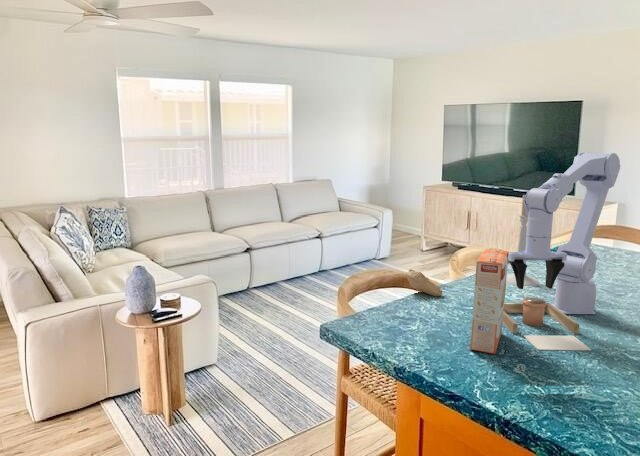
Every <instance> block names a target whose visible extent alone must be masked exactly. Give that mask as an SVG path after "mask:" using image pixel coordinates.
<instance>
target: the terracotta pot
mask: <svg viewBox="0 0 640 456" xmlns="http://www.w3.org/2000/svg"><path fill="white" fill-rule="evenodd" d="M522 303H523V305H524V306H523V313H522V320H521V321H522V323H523V324H524V325H527V326H530V327H542V326H543V325H544V319H545V313H544V309H545V307H546V303H547V301H546V300H544V299H542V298H538V297H530V296H529V297H524V298H522Z"/></svg>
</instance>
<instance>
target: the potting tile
mask: <svg viewBox="0 0 640 456" xmlns="http://www.w3.org/2000/svg"><path fill="white" fill-rule="evenodd" d="M523 337H524V338H525V339H526V340H527V341H528V342H529V344H531V345H532V346H533V347H534V348H535V349H536V350H537V351H592V349H591V348H590V347H588V346H587V345H586V344H585V343H583V342H582V341H581V340H579V338H577V337H575V335H531V334H529V335H528V334H527V335H523Z"/></svg>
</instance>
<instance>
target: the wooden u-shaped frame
mask: <svg viewBox="0 0 640 456" xmlns="http://www.w3.org/2000/svg"><path fill="white" fill-rule="evenodd" d="M550 303H551V302H546V307H545V309H544V314H548V315H549V316H550V317H551V318H552V319H553V320H555V321H556V322H558V323H559V324H560V325H562V326H563V327H564V328H565V329H567V330H568V331H569V332H571V333H572V334H574V335H579V332H580V324H579V322H577V321H575V320H573V319H572V318H571V317H570V316H568V314H564V313H562V312H561V311H560V310H558V309H557V308H555V307H554V306H553V305H551V304H550ZM523 306H524V305H523V302H504V312H503V322H502V325H504V327H506V328H507V329H508V330H509V331H510V332H511V334H513V335H515V334H518V323H517V322H516V320H514V319H513V318H512V317H511V316H510V315H509V314H513V313H514V314H515V313H516V314H519V313H520V314H523Z"/></svg>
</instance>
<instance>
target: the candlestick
mask: <svg viewBox="0 0 640 456" xmlns="http://www.w3.org/2000/svg"><path fill="white" fill-rule="evenodd" d="M525 196H526V194H523V195H522V202H521V203H522V204H521V214H519V215H518V217H519V221H520V224H521V225H520V226H519V235H518V242H517V250H516V252H520V251H525V248H526V236H527V223H528V217H527V216H526V208H525V206H524V199H525ZM523 262H524V264H526V265H527V261H523ZM539 284H540V281H539V280H538V279H537V278H534V277H532V276H529V275H527V270H526V271H525V276H524V287H534V286H535V287H536V286H538V285H539ZM506 285H511V286H516V287H517V283H516V278H515V274H514V273H510V274H507V278H506Z"/></svg>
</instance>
